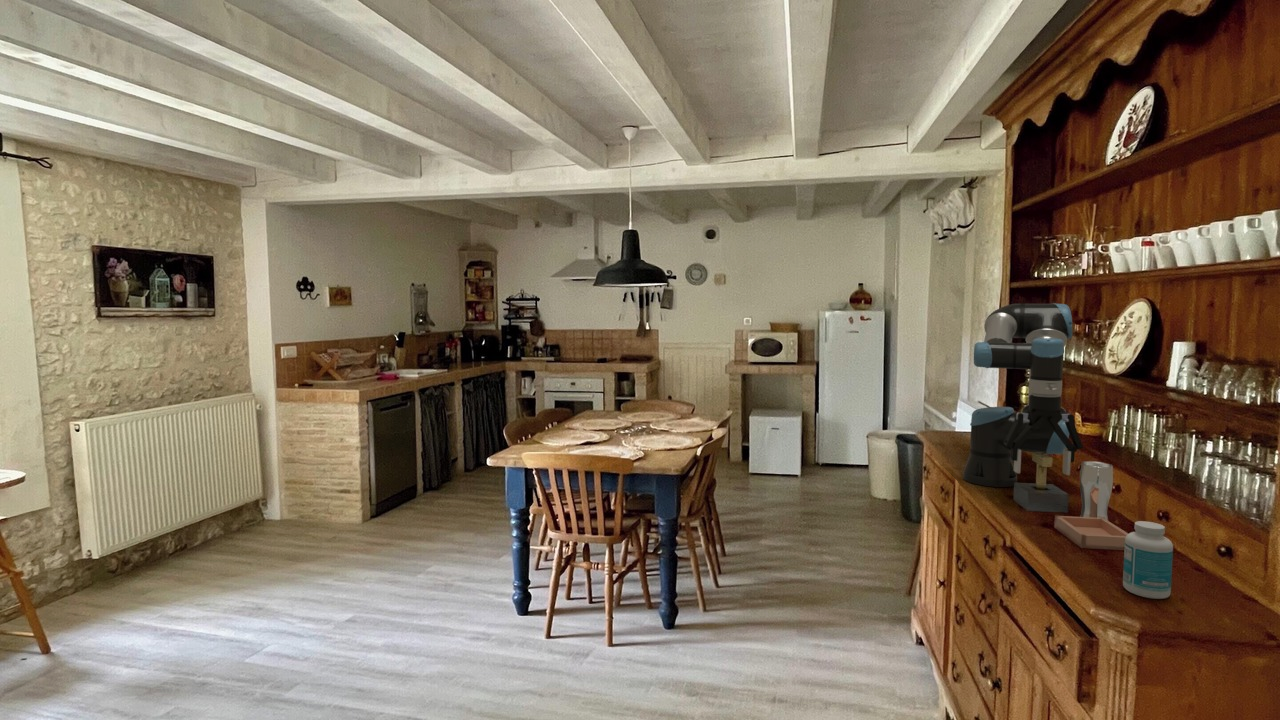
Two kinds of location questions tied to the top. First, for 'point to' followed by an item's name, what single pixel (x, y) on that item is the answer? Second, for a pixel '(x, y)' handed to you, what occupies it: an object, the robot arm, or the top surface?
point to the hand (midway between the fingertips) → (1041, 473)
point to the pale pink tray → (1091, 532)
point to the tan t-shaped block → (1041, 468)
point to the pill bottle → (1148, 561)
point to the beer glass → (1095, 488)
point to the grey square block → (1041, 498)
